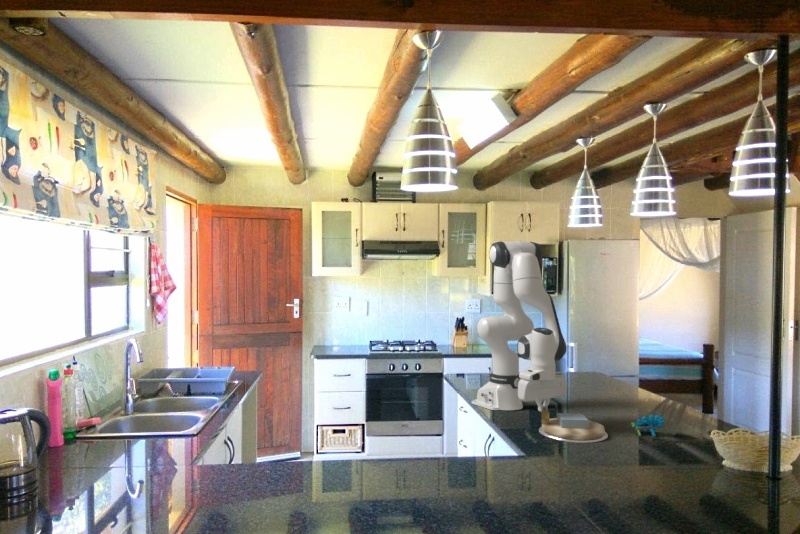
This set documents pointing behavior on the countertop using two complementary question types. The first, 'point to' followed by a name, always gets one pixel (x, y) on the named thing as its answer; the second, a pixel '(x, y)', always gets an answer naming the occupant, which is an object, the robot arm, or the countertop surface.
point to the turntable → (571, 429)
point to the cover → (572, 421)
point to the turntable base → (573, 439)
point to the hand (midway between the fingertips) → (542, 410)
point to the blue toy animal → (648, 424)
